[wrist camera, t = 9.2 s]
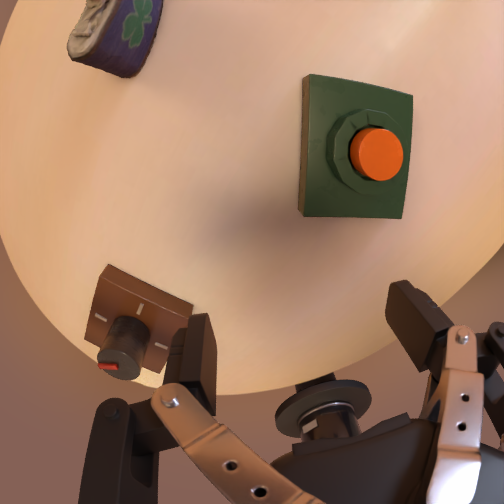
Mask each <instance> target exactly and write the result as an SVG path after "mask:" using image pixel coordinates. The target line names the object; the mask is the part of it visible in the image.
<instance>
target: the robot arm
mask: <svg viewBox="0 0 504 504" xmlns="http://www.w3.org/2000/svg"><path fill="white" fill-rule="evenodd" d="M385 316H386V320H387V323H388V324H389V326H390V327H391V329H392V330H393V332H394V333H395V335H396V336H397V338H398V339H399V341H400V342H401V344H402V346H403V347H404V348H405V350H406V352H407V353H408V355H409V356H410V358H411V360H412V361H413V363H414V364H415V366H416V368H417V369H418V371H419V372H423V371H425V370H428V369H429V370H430V372H431V373H430V375H429V377H428V383H427V388H426V393H425V398H424V403H423V407H422V411H421V414H420V416H419V418H418V419H410V418H409V416H408V414H407V412H406V413H404V414H401V415H398V416H395V417H393V418H390V419H387V420H384V421H381V422H380V423H378V424H377V425H375V426H373V427H372V428H370V429H368V430H367V431H365V432H363V433H362V432H361V430H360V427H359V424H358V421H357V418H356V416H355V413H354V409H353V406H352V404H351V403H350V402H347V401H341V400H338V401H330V402H325V403H322V404H319V405H316V406H314V407H312V408H310V409H308V410H307V411H305V412H304V413H303V414H301V415H300V417H299V418H298V420H297V425H298V429H299V431H300V436H301V440H302V442H301V443H296V444H292V451H291V452H289V453H287V454H284V455H283V456H281V457H279V458H277V459H276V460H274V461H273V462H272V463H270V464H268V463H267V462H266V461H265V460H263V459H262V458H261V457H260V456H259V455H258V454H256V453H255V452H254V451H253V450H252V449H250V447H248V446H247V445H246V444H245V443H244V442H243V441H242V440H241V439H240V438H239V437H238V436H237V435H235V434H234V433H233V432H232V431H231V430H230V429H229V428H228V427H227V426H225V425H224V424H220V423H218V422H217V421H216V420H215V419H214V418H213V417H212V416H216V376H217V345H216V340H215V336H214V333H213V329H212V326H211V322H210V319H209V315H208V313H203V314H194V315H190V316H189V319H188V325H187V327H185V328H179V329H178V330H177V332H176V333H175V334H174V335H173V337H172V341H171V348H170V351H169V356H168V360H167V365H166V370H165V375H164V380H163V384H162V386H160V387H159V388H157V389H156V390H155V391H154V393H153V394H152V397H151V398H150V399H148V400H145V401H142V402H138V403H134V404H130V405H128V404H127V402H126V401H124V400H123V399H120V398H110V399H107V400H105V401H104V402H102V403H101V404H100V405H99V407H98V408H97V411H96V414H95V418H94V422H93V426H92V430H91V434H90V439H89V443H88V448H87V453H86V458H85V463H84V468H83V475H82V480H81V486H80V494H79V501H78V504H158V465H159V452H160V451H163V450H167V449H171V448H175V447H178V446H181V448H182V449H183V451H184V452H185V453H186V454H187V455H188V457H189V458H190V459H191V460H192V462H193V463H194V464H195V465H196V466H197V467H198V469H199V470H200V471H201V472H202V473H203V474H204V475H205V476H206V478H207V479H208V480H209V481H210V482H211V483H212V484H213V485H214V486H215V487H216V488H217V489H218V490H219V491H220V492H221V493H222V494H223V495H224V496H225V498H226V499H227V500H229V501H230V502H231V503H232V504H504V382H503V380H502V378H501V377H500V376H499V374H498V372H497V371H496V369H497V367H498V365H499V364H500V363H501V365H502V367H503V368H504V323H502V322H494V323H492V324H491V325H490V327H489V329H488V331H487V332H486V333H476V334H475V333H474V332H473V331H472V330H471V329H470V328H468V327H467V326H463V325H454V324H453V322H452V321H451V320H450V319H449V318H448V317H447V316H446V314H445V313H444V312H443V311H442V310H441V309H440V308H439V307H437V304H436V303H435V302H434V301H432V299H431V298H430V297H429V296H428V295H427V294H426V293H425V292H423V291H421V290H420V289H418V288H414V287H413V286H412V284H411V283H410V282H409V281H408V280H402V281H398V282H393V283H391V284H390V286H389V292H388V298H387V304H386V309H385ZM483 407H484V408H485V409H486V411H487V413H488V415H489V417H490V419H491V421H492V423H493V425H494V427H495V429H496V431H497V433H498V435H499V437H500V439H501V440H500V447H499V448H498V449H495V448H493V447H490V446H488V445H486V444H483V443H481V442H480V439H481V431H482V421H483Z"/></svg>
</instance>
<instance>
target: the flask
mask: <svg viewBox="0 0 504 504" xmlns="http://www.w3.org/2000/svg"><path fill="white" fill-rule="evenodd" d="M86 2H87V3H86V7H85V9H84V11H83V13H82V14H81V17H80V19H79V21H78V23H77V24H76V26H75V29H74V30H73V31H72V33H71V34H70V36H69V40H68V43H67V50H68V55H69V56H70V58H71V60H72V61H76V62H79V63H83V64H85V65H88V66H92V67H94V68H98V69H101V70H103V71H105V72H108V73H112V74H114V75H116V76H119V77H121V78H125V77H126V78H131V77H133V76H136V75H137V74H138V73H139V72H140V70H141V68H142V67H143V65H144V64H145V61H146V59H147V57H148V55H149V53H150V49H151V48H152V45H153V43H154V38H155V37H156V30H157V28H158V23H159V20H160V16H161V12H162V6H163V0H86Z"/></svg>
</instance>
